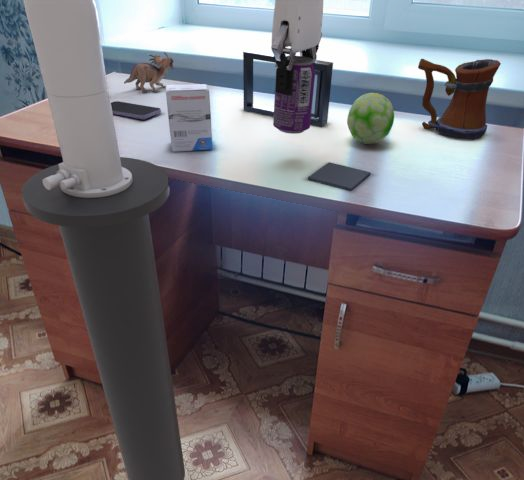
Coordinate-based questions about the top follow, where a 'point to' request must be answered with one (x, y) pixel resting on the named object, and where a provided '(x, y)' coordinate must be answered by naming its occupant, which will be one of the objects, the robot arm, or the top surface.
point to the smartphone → (134, 110)
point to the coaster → (339, 176)
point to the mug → (461, 98)
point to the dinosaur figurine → (151, 72)
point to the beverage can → (296, 99)
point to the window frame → (269, 111)
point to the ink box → (189, 117)
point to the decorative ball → (370, 118)
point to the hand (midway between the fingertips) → (294, 88)
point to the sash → (316, 94)
